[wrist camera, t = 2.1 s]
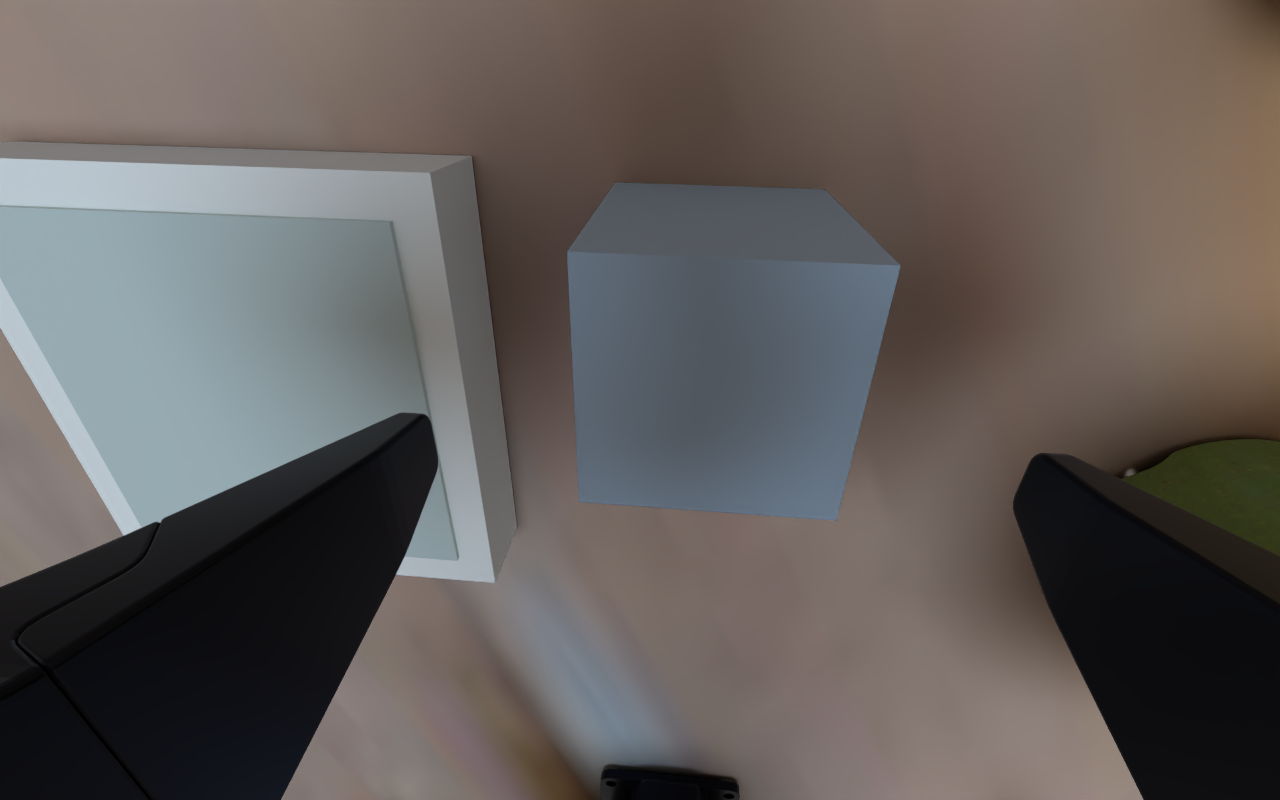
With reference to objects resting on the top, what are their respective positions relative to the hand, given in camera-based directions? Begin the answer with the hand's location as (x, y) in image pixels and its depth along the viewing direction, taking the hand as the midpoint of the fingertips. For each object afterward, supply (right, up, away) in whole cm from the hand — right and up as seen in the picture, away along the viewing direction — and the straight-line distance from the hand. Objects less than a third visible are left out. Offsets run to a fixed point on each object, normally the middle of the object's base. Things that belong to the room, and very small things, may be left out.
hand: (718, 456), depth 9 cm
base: (-11, +2, +9) cm, 14 cm away
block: (+1, +4, +6) cm, 8 cm away
